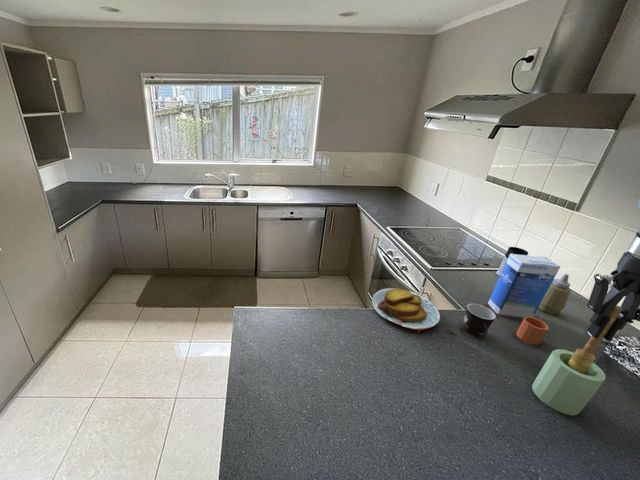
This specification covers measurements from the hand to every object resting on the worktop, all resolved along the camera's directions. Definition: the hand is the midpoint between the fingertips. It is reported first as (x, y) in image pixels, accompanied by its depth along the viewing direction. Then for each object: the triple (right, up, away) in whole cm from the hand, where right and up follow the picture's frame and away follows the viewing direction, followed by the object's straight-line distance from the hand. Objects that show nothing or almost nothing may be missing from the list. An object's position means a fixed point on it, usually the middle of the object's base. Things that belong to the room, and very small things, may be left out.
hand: (598, 335), depth 73 cm
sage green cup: (-1, -23, +10) cm, 25 cm away
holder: (+40, +1, +69) cm, 80 cm away
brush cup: (+11, -14, +31) cm, 36 cm away
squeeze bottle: (+36, -8, +47) cm, 60 cm away
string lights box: (+17, -8, +45) cm, 49 cm away
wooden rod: (0, -11, +5) cm, 12 cm away
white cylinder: (+41, -14, +34) cm, 55 cm away
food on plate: (-28, -7, +43) cm, 52 cm away
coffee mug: (-8, -13, +33) cm, 36 cm away
